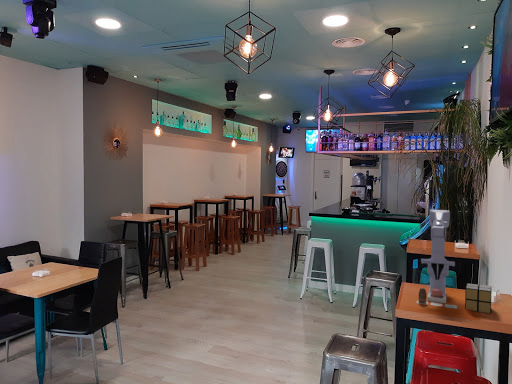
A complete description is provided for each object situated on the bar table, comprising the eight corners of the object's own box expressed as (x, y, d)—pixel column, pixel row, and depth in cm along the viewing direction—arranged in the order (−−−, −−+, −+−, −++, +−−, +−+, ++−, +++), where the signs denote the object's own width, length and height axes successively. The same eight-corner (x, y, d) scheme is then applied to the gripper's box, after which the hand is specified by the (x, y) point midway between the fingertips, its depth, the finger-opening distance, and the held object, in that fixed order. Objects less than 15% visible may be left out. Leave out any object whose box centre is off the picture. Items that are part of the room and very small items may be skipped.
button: (431, 294, 190) (431, 288, 190) (442, 295, 188) (442, 289, 188) (431, 296, 186) (431, 290, 186) (442, 298, 184) (442, 291, 184)
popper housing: (428, 297, 192) (428, 292, 192) (446, 299, 189) (446, 294, 189) (427, 302, 185) (427, 296, 185) (446, 304, 182) (446, 299, 182)
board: (415, 301, 186) (415, 299, 186) (458, 306, 178) (458, 305, 178) (415, 304, 181) (415, 303, 181) (458, 310, 173) (458, 309, 173)
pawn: (418, 300, 185) (419, 286, 184) (426, 301, 183) (426, 287, 183) (418, 302, 182) (418, 288, 181) (426, 303, 180) (426, 289, 180)
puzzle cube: (466, 304, 183) (466, 283, 182) (490, 308, 178) (491, 286, 177) (464, 310, 174) (465, 287, 174) (491, 314, 169) (491, 291, 169)
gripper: (421, 251, 186) (420, 279, 186) (455, 253, 179) (454, 283, 180) (421, 249, 192) (421, 276, 192) (454, 251, 186) (454, 280, 186)
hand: (437, 279), depth 186 cm, fingers closed
